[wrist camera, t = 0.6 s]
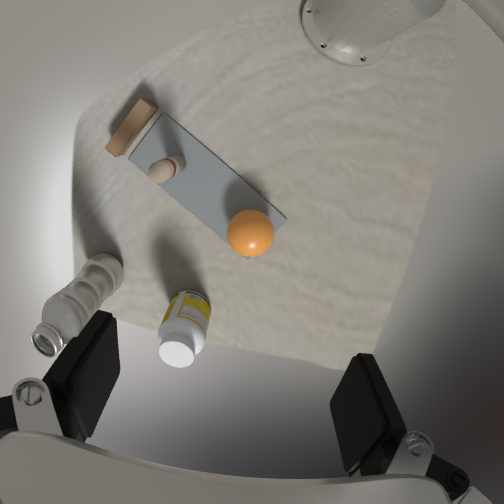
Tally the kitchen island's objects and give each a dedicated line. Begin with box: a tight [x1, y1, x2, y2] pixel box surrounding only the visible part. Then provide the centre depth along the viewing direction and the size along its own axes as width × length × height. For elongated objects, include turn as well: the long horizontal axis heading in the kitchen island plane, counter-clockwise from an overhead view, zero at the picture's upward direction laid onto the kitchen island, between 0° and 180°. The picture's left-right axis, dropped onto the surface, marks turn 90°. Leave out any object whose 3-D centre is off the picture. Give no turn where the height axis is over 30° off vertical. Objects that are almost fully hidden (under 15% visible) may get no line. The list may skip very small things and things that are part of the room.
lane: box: [129, 113, 287, 260], centre depth 39 cm, size 8×22×1 cm, turn 48°
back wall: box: [105, 99, 159, 157], centre depth 35 cm, size 8×2×3 cm, turn 138°
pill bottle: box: [158, 291, 211, 367], centre depth 41 cm, size 6×6×12 cm
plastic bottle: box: [31, 253, 124, 358], centre depth 35 cm, size 6×7×20 cm
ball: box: [227, 209, 274, 257], centre depth 39 cm, size 6×6×6 cm
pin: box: [148, 155, 186, 183], centre depth 34 cm, size 2×2×8 cm
